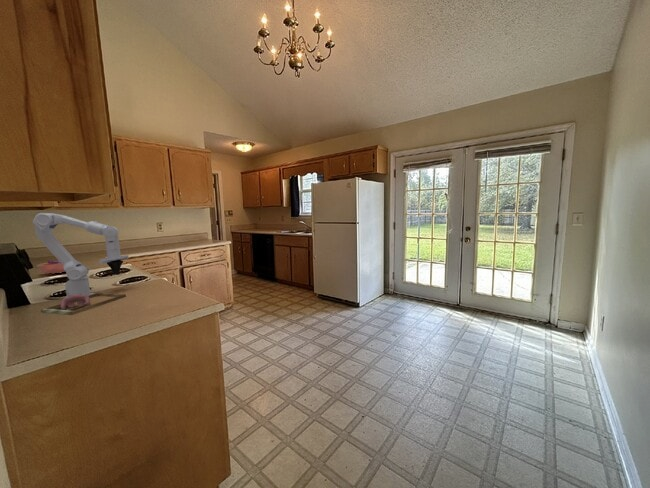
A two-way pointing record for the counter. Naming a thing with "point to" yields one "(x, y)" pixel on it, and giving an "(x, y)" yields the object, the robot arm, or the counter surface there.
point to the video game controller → (75, 297)
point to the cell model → (51, 267)
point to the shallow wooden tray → (82, 308)
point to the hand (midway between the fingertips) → (116, 274)
